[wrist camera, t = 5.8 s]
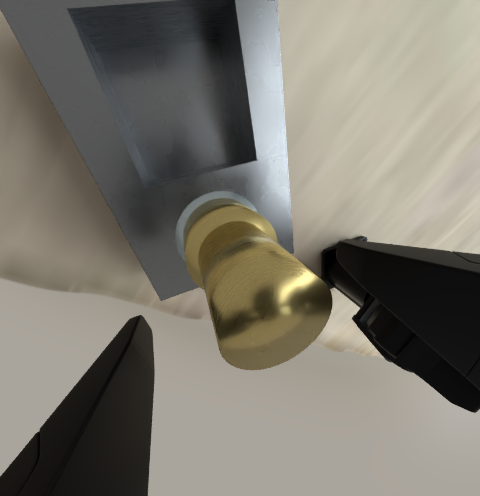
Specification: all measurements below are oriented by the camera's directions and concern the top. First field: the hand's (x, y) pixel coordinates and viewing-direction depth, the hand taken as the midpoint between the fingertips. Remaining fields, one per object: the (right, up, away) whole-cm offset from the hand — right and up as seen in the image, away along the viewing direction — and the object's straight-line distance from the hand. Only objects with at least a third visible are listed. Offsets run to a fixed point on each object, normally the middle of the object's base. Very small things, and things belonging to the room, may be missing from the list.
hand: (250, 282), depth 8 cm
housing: (-4, +8, +7) cm, 12 cm away
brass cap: (-2, +2, +5) cm, 6 cm away
